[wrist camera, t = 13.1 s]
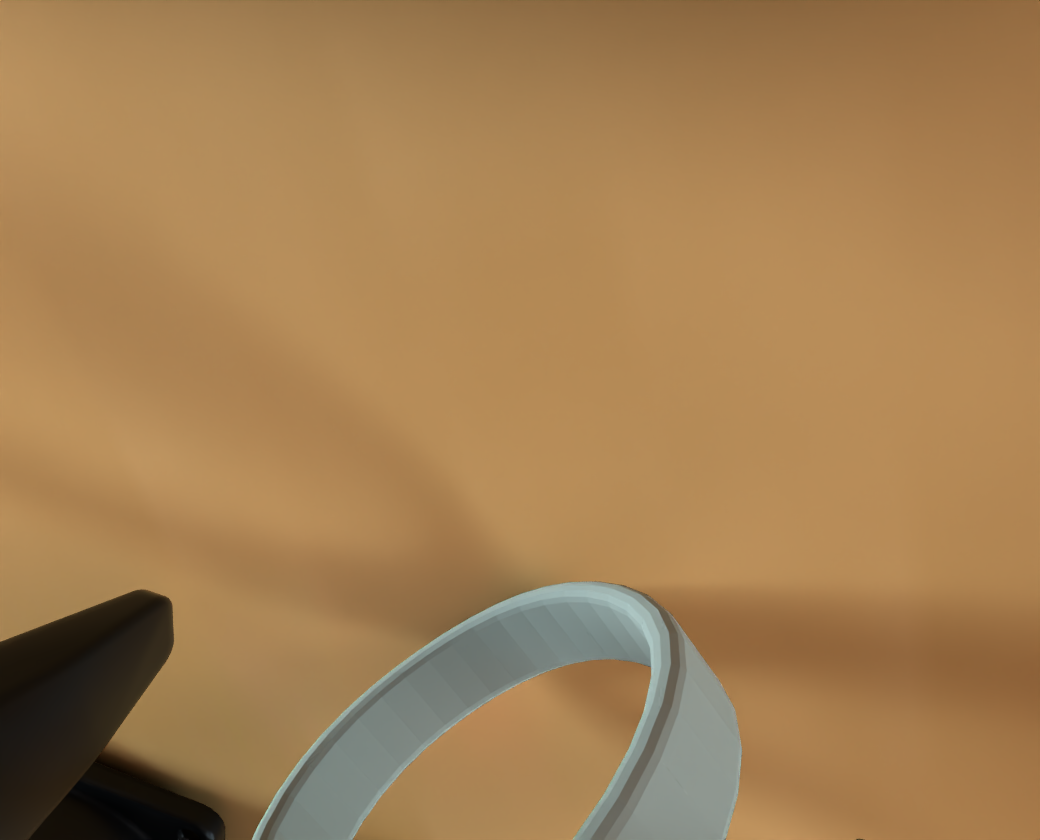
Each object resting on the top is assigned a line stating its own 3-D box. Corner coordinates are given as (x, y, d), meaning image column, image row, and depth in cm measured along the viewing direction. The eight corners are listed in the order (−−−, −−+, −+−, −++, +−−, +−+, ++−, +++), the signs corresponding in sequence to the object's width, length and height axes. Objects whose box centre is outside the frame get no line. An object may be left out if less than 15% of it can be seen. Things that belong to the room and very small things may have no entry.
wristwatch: (425, 751, 11) (254, 1159, 7) (324, 636, 11) (64, 998, 6) (758, 633, 9) (841, 1154, 4) (649, 474, 8) (611, 882, 4)
